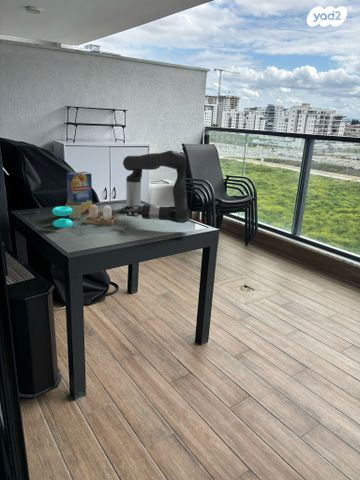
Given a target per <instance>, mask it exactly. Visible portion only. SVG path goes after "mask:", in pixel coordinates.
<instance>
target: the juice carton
mask: <svg viewBox="0 0 360 480" xmlns="http://www.w3.org/2000/svg"><path fill="white" fill-rule="evenodd" d="M92 184H93V183H92V173H91V172H87V171H77V172H66V190H67V191H66V192H67V203H70V202H79V203H83V205H82V209H81V215H82V214H86V213H87V214H89V207H90V205H93V185H92Z"/></svg>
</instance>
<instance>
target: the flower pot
mask: <svg viewBox="0 0 360 480" xmlns="http://www.w3.org/2000/svg"><path fill="white" fill-rule="evenodd" d="M82 205H83V203H79V202H70V203H68V202H66V203H65V206H66V207H70V208H72V213H71V214H70V215H68V219H74V220H75V219H80V218H81V217H82V216H81V215H82V214H81V209H82Z"/></svg>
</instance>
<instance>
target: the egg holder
mask: <svg viewBox="0 0 360 480" xmlns="http://www.w3.org/2000/svg"><path fill="white" fill-rule="evenodd" d="M117 222H118V217H116V216H112V221H106V220H103V215H98V219H97V220H95V219H89V214H88V215H87V216H85V217H83V218H82V224H83V223H85V224H95V225H102V226H103V225H104V226H105V225H106V226H113V225H115V224H116V223H117Z"/></svg>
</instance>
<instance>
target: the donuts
mask: <svg viewBox="0 0 360 480" xmlns="http://www.w3.org/2000/svg"><path fill="white" fill-rule="evenodd" d="M71 213H72V208H70V207H67V206H66V205H65V206H63V205H62V206H56V207H53V209H52V214H53V215H55V216H58V217H59V216H60V217H67V216H69V215H70V214H71ZM52 225H53V227H56V228H69V227H72V226H73V225H74V222H73V221H72V220H71V219H70V218H59V219H55V220H54V221H53V223H52Z"/></svg>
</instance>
